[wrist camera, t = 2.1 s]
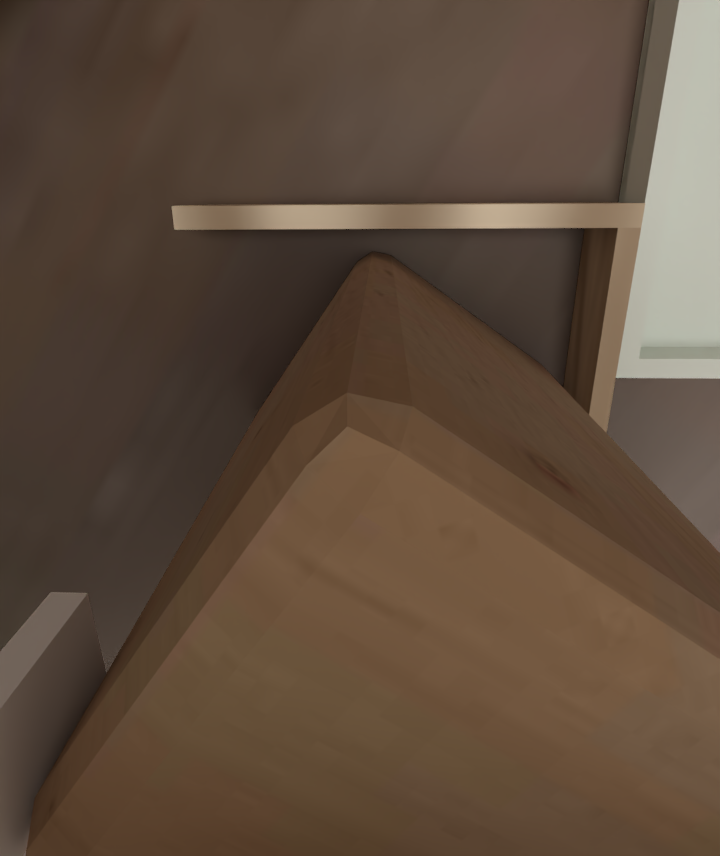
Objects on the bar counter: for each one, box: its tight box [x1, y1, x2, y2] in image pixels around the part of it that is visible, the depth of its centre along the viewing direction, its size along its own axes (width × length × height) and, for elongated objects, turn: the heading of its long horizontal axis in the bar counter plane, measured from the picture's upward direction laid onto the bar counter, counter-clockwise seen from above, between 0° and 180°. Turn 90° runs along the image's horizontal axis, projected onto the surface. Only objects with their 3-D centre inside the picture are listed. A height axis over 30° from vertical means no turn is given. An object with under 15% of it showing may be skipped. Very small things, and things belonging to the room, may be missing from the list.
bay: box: [172, 202, 645, 432], centre depth 25 cm, size 17×17×4 cm
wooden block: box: [26, 252, 720, 856], centre depth 17 cm, size 10×10×20 cm
